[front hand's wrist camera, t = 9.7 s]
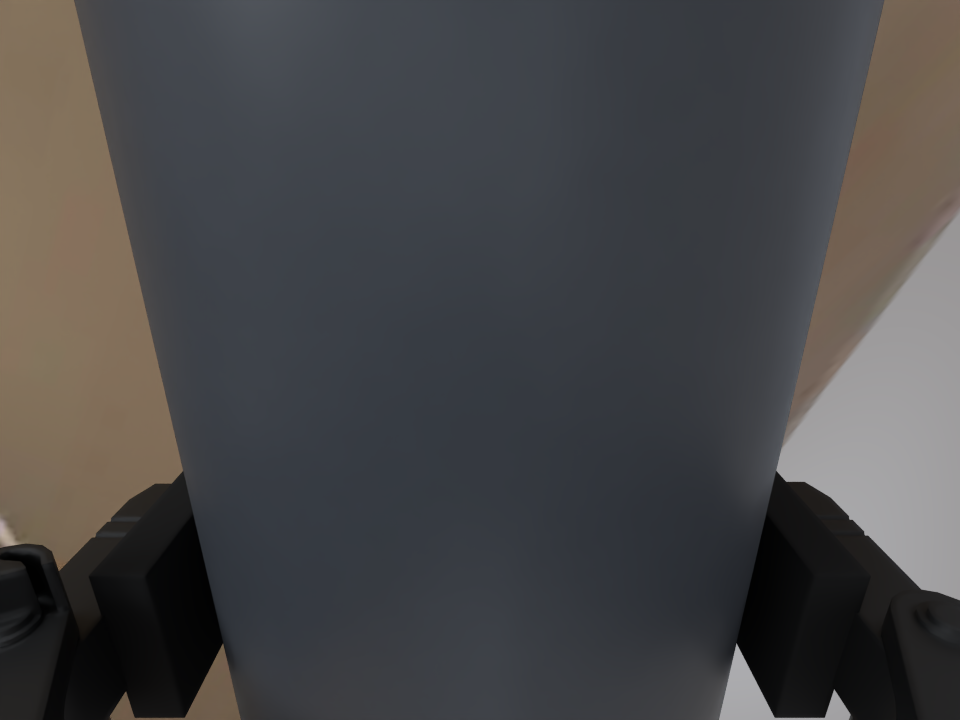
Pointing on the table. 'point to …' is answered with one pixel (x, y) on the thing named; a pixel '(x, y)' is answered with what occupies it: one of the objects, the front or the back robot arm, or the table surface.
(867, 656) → the front robot arm
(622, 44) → the rod
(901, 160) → the table surface
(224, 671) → the table surface
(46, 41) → the table surface
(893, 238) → the table surface
